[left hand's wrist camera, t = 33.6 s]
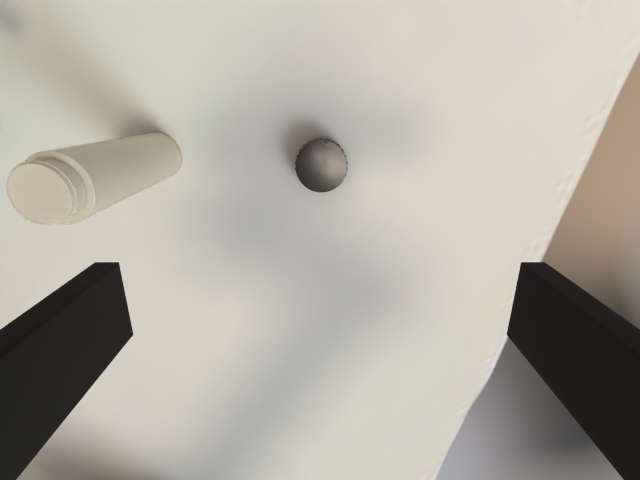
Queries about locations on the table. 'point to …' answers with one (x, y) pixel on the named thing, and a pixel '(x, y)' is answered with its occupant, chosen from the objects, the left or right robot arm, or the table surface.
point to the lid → (321, 165)
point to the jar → (90, 176)
